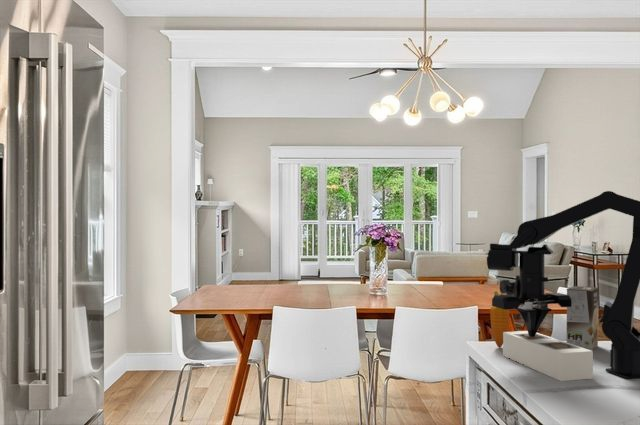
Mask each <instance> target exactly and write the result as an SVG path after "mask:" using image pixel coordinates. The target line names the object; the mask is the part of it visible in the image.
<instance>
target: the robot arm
mask: <svg viewBox="0 0 640 425" xmlns="http://www.w3.org/2000/svg"><path fill="white" fill-rule="evenodd" d="M608 210H613V211H616V212H619V213H622V214H625V215H628V216H631V217H632V219H633V221H632V237H631V238H632V239H631V243H630V246H629V250H628V252H627V256H626V261H625V264H624V267H623V272H622V275H621V279H620V282H619V286H618V289H617V291H616V292H617V293H616V296H615V298H614V301H613V303H612V302H609V301H606V303H604V306H603V312H602V317H601V318H600V320H598V323H602V324H601V331H602V333H603V335H604V336H605V337H606V338H608V340H611V344H610V345H611V346H610V348H611V349H610V356H609V357H610V359H609V360H610V361H609V363H610V367H608V368H605V372H608V373H610V374H613V375H616V376H619V377H620V378H621V377H622V378H624V379H637V378H640V331H639V330H638V329H637V328H636V327H635V326H634V316H635V313H634V312H635V299H636V297H637V293H638V289H639V285H640V200H636V199H634V198H631V197H627V196H623V195H620V194H618V193H616V192H614V191H611V190H610V191H609V190H607V191H606V190H605V191H603V192H602V193H600V194H599V195H597V196H594V197H592V198H590V199H588V200H584V201H582V202H581V203H578V204H576V205H573V206H571V207H569V208H566V209H565V210H562V211H560V212H557V213H555V214H553V215H547V216H543V217H539V218H536V219H532V220H527V221H524V222H522V223H521V224H520V225H519V226H518V228H517V234H516V235H515V237H514V238H513V240H512V241H511V242H510V244H508V243H507V244H503V243H497V242H496V243H495V242H491V243H489V249H488V253H487V256H486V265H487V269H488V270H489V271H500V272H501V271H502V272H503V271H504V272H505V271H506V272H513V271H514V269H515V268H518V266H519V274H518V275H516V276H515V281H513V282H510V281H511V280H509V279H502V280H500V281H499V292H500V294H498V295H495V294H494V295H493V297H492V298H491V307H492V306H494V307H498V308H501V309H506V310H509V311H510V310H516V311H517V312H518V313H519V314H520V316H521V318H522V319H523V322H524V326H525V328H526V331H528V334H529V336H531V337H533V336H535V334H536V333H538V330H539V328H540V327H541V326H542V322H543V321H544V320H545V318H546V317H547V315H548V313H549V312H552V310H553V308H550V307H549V305H553V304H557V305H559V307H561V308H567V307H572V299H571V298H570V296H569V295H567V293H561V292H545V283H547V282H549V277H547V276H545V255H548V256H549V255H552V254H554V251H553V250H552V249H551V247H549V246H548V244H547V243H545V244H543V245H542V246H533V245H536V244H537V245H538V244H540V243H543V241H545V240H547V239H548V238H550V237H552V236H553V235H555V234H556V233H557V232H559V231H560V230H562V229H564V228H567V227H569V226H572V225H575V224H576V223H579V222H581V221H583V220H586V219H588V218H591V217H592V216H595V215H598V214H600V213H603V212H606V211H608ZM527 246H529V247H528V248H527V250H518V249H522V248H526V247H527ZM501 294H503V295H501ZM504 294H505V295H504Z"/></svg>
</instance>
